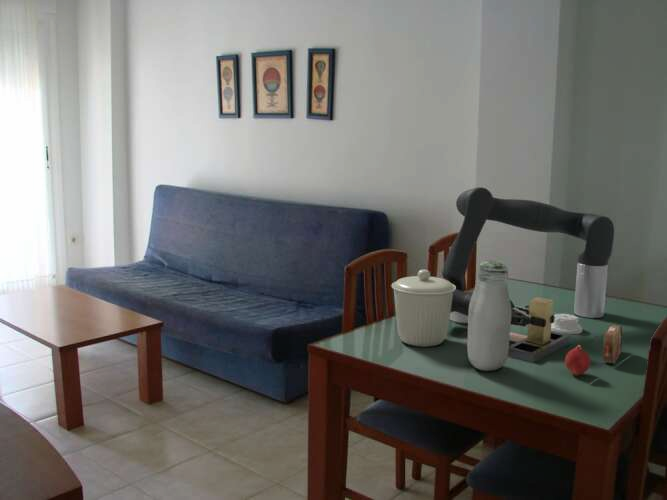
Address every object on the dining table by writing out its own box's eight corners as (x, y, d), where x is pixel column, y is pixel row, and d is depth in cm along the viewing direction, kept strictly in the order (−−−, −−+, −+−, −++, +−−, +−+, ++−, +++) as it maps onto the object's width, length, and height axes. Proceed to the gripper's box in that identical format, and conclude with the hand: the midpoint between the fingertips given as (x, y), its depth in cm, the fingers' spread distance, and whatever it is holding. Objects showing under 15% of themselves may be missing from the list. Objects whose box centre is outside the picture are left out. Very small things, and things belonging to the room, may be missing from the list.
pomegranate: (560, 371, 161) (562, 341, 160) (582, 371, 162) (584, 340, 160) (570, 380, 156) (572, 349, 154) (593, 379, 156) (595, 348, 154)
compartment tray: (533, 363, 167) (533, 354, 166) (505, 356, 172) (505, 347, 172) (569, 344, 182) (569, 335, 182) (542, 337, 188) (543, 329, 187)
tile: (499, 338, 187) (499, 337, 187) (511, 333, 192) (511, 332, 192) (521, 344, 182) (521, 342, 182) (533, 338, 187) (533, 337, 187)
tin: (613, 368, 164) (615, 337, 162) (600, 366, 165) (602, 335, 164) (622, 351, 176) (624, 322, 175) (609, 349, 178) (612, 320, 176)
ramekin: (478, 315, 211) (479, 299, 210) (483, 325, 200) (484, 309, 199) (444, 314, 212) (444, 298, 211) (447, 324, 201) (447, 307, 200)
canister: (416, 328, 197) (418, 260, 193) (466, 341, 184) (469, 270, 180) (377, 341, 184) (378, 269, 180) (427, 356, 172) (430, 280, 168)
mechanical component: (549, 334, 192) (584, 336, 190) (550, 320, 191) (586, 322, 189) (545, 324, 202) (579, 326, 200) (546, 311, 201) (580, 313, 199)
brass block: (526, 349, 177) (529, 300, 175) (534, 345, 180) (537, 297, 178) (542, 352, 174) (545, 303, 172) (549, 349, 177) (552, 299, 175)
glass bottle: (483, 378, 156) (488, 266, 151) (459, 364, 166) (463, 258, 161) (515, 372, 160) (522, 263, 155) (490, 359, 169) (495, 255, 164)
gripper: (481, 301, 179) (538, 313, 168) (506, 292, 190) (562, 303, 178) (479, 327, 181) (536, 340, 169) (504, 317, 191) (560, 329, 180)
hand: (549, 321), depth 174 cm, fingers closed on brass block, 4 cm apart
